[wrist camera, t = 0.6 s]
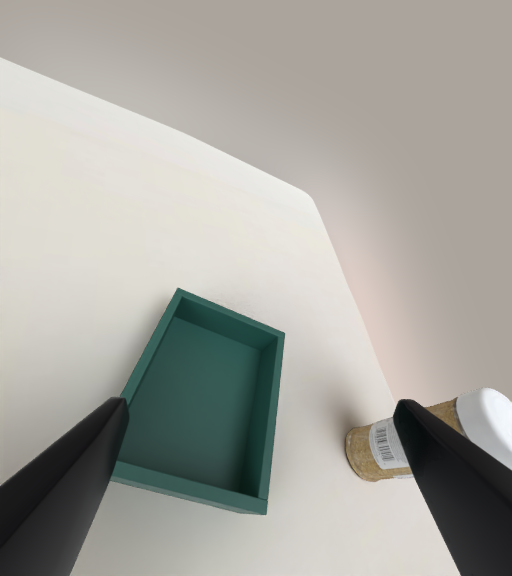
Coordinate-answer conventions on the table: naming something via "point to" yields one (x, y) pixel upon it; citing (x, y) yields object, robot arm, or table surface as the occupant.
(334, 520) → the table surface
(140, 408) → the tray
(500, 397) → the sprinkles bottle
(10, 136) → the table surface
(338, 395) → the table surface
